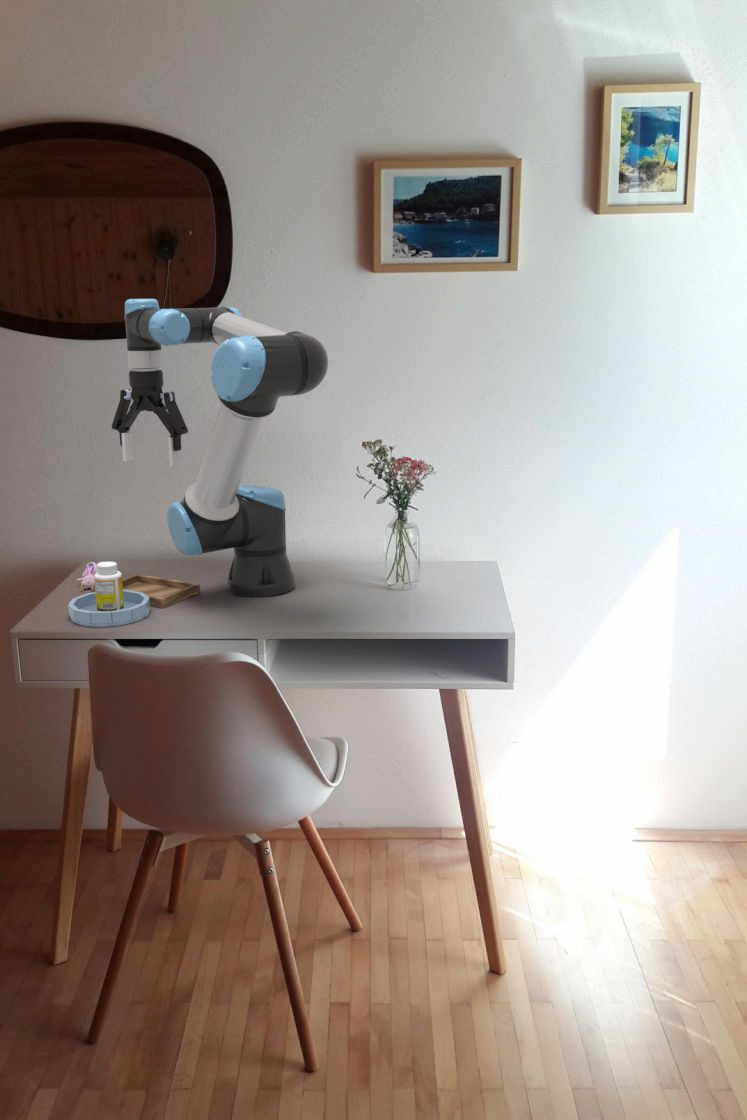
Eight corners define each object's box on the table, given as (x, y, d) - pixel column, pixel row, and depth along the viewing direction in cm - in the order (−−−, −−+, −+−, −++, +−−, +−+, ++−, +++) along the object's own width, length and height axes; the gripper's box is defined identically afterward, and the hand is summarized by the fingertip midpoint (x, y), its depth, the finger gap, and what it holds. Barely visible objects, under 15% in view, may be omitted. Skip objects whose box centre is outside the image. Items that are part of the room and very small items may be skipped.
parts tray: (200, 592, 238) (199, 583, 237) (162, 608, 227) (162, 599, 226) (137, 582, 246) (136, 573, 245) (98, 597, 235) (97, 588, 234)
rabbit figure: (102, 597, 240) (112, 569, 253) (99, 573, 237) (109, 546, 251) (74, 598, 239) (85, 569, 253) (71, 573, 237) (82, 546, 251)
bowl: (165, 609, 226) (164, 596, 225) (113, 631, 212) (112, 617, 211) (107, 599, 233) (106, 586, 232) (53, 620, 220) (52, 606, 219)
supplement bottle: (115, 605, 226) (112, 558, 224) (129, 611, 222) (126, 563, 220) (91, 611, 223) (88, 563, 220) (105, 617, 219) (101, 569, 216)
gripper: (200, 369, 237) (205, 464, 243) (114, 366, 249) (120, 456, 254) (179, 372, 231) (184, 469, 236) (91, 368, 242) (98, 461, 248)
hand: (151, 462), depth 245 cm, fingers open, 13 cm apart
